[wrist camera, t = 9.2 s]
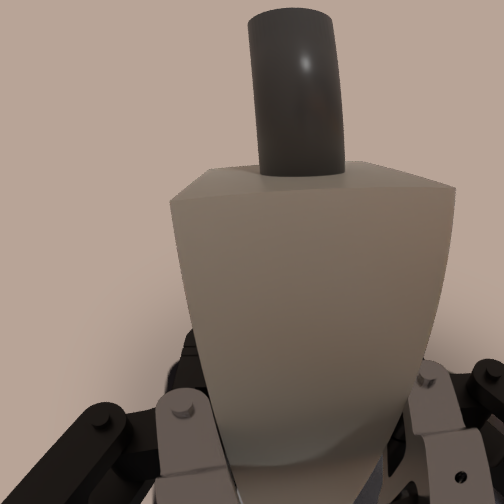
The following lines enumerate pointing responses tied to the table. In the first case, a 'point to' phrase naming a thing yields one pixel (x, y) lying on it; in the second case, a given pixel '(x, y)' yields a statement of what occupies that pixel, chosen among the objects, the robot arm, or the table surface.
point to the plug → (308, 280)
